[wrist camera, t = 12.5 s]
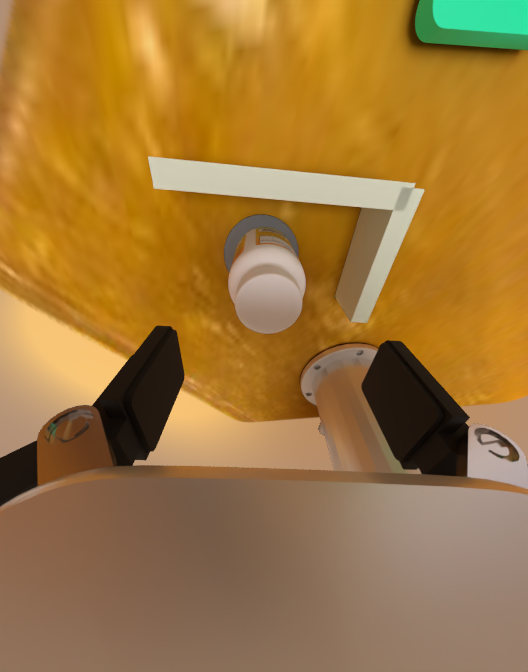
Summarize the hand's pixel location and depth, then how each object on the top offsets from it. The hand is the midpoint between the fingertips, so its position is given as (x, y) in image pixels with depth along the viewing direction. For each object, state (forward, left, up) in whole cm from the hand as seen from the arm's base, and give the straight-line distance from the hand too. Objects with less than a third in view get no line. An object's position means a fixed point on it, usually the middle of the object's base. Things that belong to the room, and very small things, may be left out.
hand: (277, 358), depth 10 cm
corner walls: (+2, -1, -14) cm, 14 cm away
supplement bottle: (+1, 0, -14) cm, 13 cm away
